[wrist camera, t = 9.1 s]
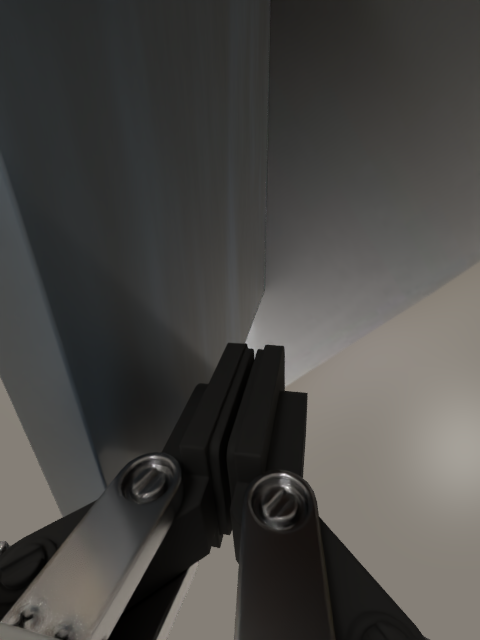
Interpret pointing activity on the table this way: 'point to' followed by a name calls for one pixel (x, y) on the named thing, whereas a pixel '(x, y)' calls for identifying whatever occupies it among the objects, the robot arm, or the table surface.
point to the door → (126, 218)
